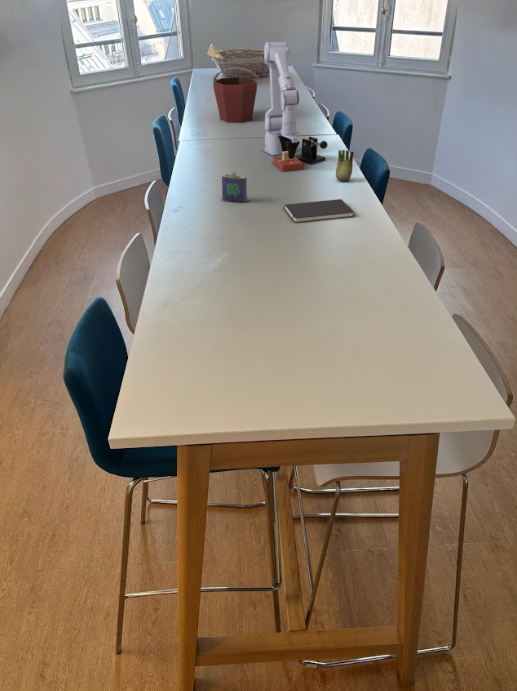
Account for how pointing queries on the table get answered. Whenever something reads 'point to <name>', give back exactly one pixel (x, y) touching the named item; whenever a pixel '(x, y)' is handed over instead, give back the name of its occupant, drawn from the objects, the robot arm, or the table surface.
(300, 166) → the dial panel
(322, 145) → the lever
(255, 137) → the table surface
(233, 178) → the flask
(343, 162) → the fennel bulb
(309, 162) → the black lever mount
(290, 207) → the notebook
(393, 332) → the table surface
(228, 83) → the bucket
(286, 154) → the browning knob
